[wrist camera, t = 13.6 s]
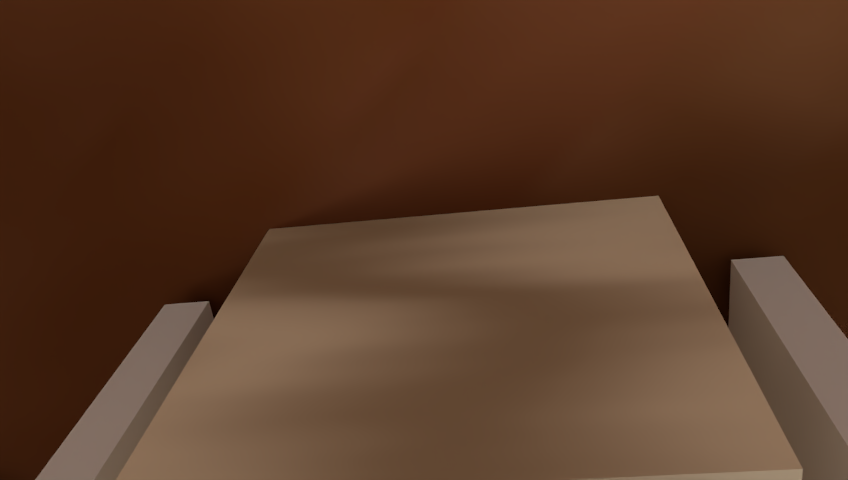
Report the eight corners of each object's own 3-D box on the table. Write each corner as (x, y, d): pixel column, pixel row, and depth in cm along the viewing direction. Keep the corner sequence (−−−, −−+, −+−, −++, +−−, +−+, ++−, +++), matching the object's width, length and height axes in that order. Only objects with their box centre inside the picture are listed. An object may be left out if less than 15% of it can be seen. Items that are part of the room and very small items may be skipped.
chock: (324, 473, 15) (229, 830, 9) (269, 227, 12) (102, 499, 7) (657, 457, 14) (767, 834, 8) (657, 193, 12) (802, 469, 6)
